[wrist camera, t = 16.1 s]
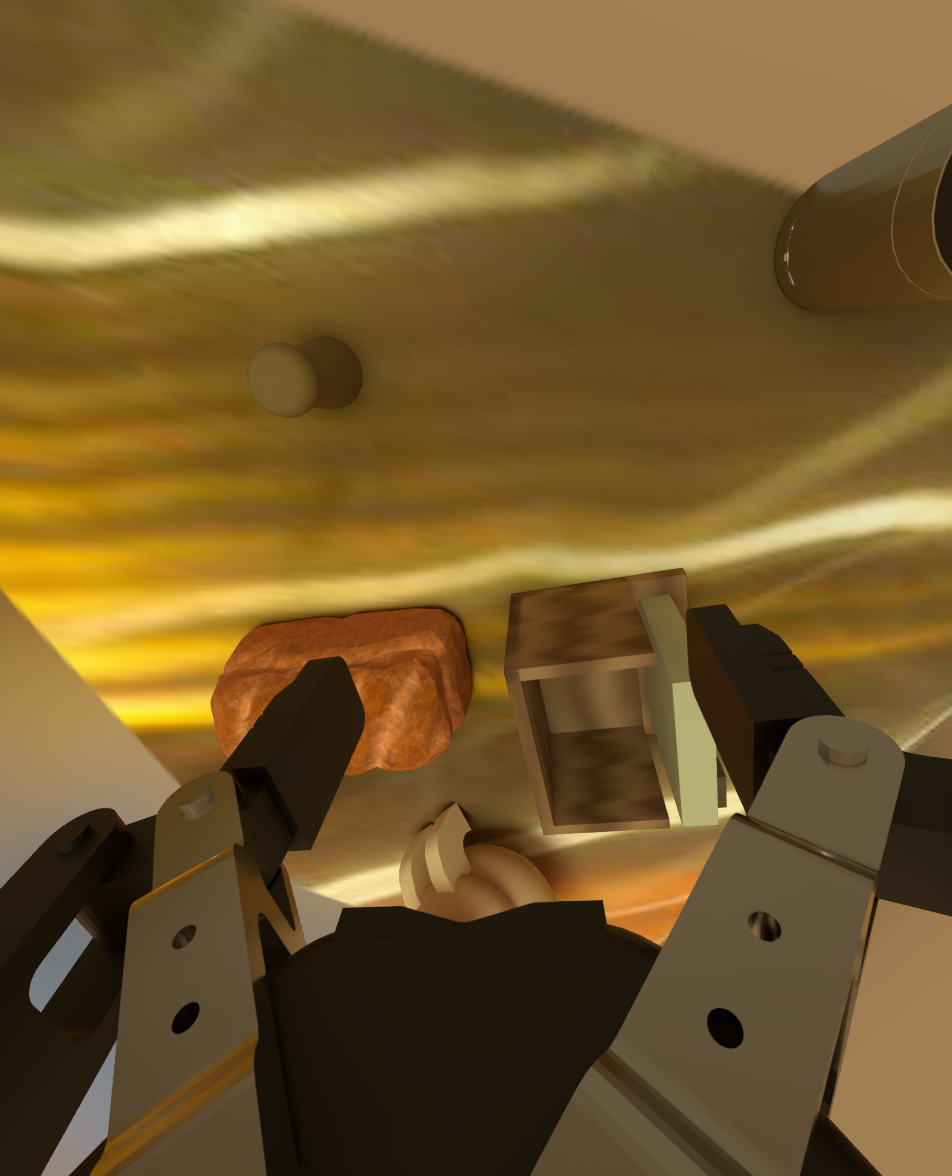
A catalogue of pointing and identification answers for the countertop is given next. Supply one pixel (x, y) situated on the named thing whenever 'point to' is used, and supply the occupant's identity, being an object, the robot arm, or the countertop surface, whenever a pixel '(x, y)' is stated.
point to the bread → (359, 680)
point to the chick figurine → (466, 874)
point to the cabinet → (589, 702)
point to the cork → (304, 376)
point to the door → (679, 715)
